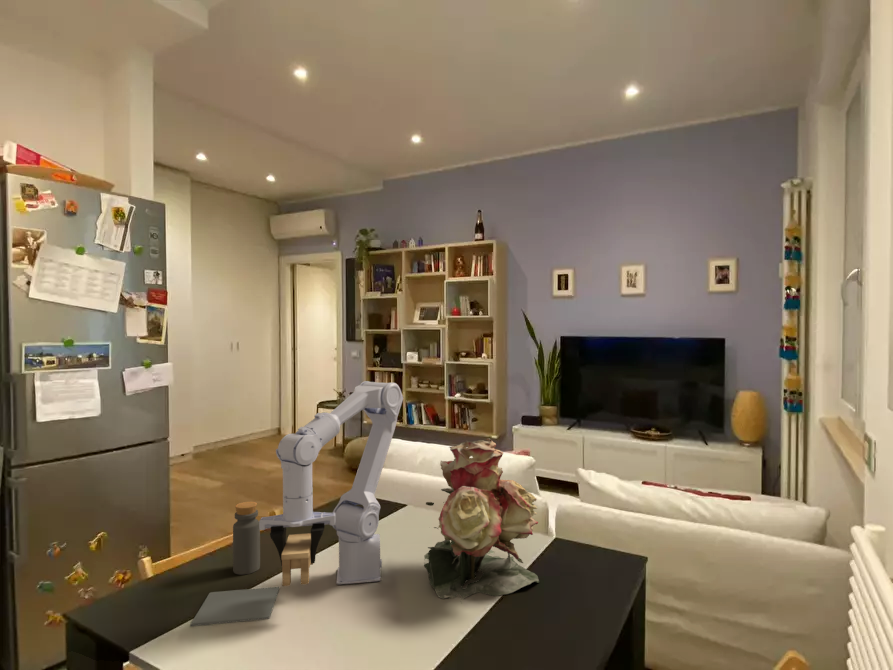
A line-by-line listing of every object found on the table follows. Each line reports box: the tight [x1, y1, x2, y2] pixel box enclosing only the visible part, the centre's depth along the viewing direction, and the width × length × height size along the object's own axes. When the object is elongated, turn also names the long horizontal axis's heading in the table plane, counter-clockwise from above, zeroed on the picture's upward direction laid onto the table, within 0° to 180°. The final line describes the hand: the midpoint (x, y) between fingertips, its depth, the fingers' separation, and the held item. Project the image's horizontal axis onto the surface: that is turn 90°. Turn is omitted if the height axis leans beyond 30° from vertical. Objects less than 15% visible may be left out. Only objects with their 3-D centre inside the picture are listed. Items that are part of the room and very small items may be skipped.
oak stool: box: [280, 532, 314, 587], centre depth 102 cm, size 10×5×6 cm, turn 9°
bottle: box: [232, 501, 261, 576], centre depth 119 cm, size 6×6×15 cm
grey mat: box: [190, 586, 280, 627], centre depth 102 cm, size 14×12×1 cm
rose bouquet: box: [423, 437, 541, 604], centre depth 116 cm, size 26×29×30 cm
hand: (298, 562), depth 102 cm, fingers closed on oak stool, 5 cm apart
